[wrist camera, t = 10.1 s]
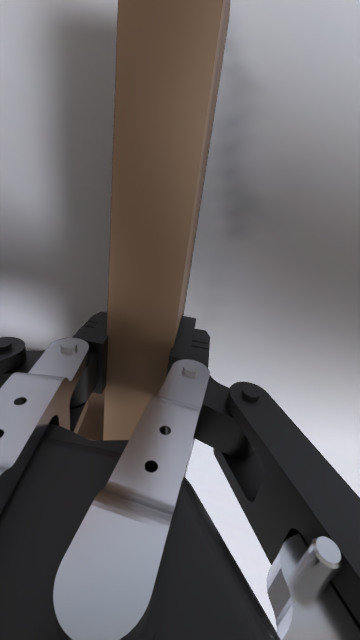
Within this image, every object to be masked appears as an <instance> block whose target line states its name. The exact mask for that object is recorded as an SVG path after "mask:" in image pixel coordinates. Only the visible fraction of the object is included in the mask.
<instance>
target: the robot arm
mask: <svg viewBox="0 0 360 640" xmlns="http://www.w3.org/2000/svg"><path fill="white" fill-rule="evenodd" d="M107 313H108V312H107ZM107 313H106V312H100V313H98V314H95V315H93V316H92V317H91V318H90V319H89V320H88V322H86V324H85V325H84V326H83V327H82V328H81V329H80V330H79V331H78V332H77V333H76V334H75V335H74V336H73V337H72V338H63V339H59V340H56V341H54V342H53V343H51V344H50V345H49V347H48V348H47V349H46V351H26V349H25V343H24V341H22V340H21V339H18V338H14V337H1V338H0V640H360V498H359V497H358V495H357V494H356V493H355V492H354V491H353V490H352V489H351V487H350V486H349V485H348V484H347V483H346V482H345V481H344V479H343V478H342V477H341V476H340V475H339V474H338V473H337V472H336V470H335V469H334V468H333V467H332V466H331V465H330V464H329V462H328V461H327V460H326V459H325V458H324V457H323V456H322V454H321V453H320V452H319V451H318V450H317V449H316V448H315V446H314V445H313V444H312V443H311V442H310V441H309V440H308V438H307V437H306V436H305V435H304V434H303V433H302V432H301V431H300V429H299V428H298V427H297V426H296V425H295V424H294V423H293V421H292V420H291V419H290V418H289V417H288V416H287V415H286V413H285V412H284V411H283V410H282V409H281V408H280V407H279V405H278V404H277V403H276V402H275V401H274V400H273V399H272V398H271V396H270V395H269V394H268V393H267V392H266V391H265V390H264V389H263V388H261V387H259V386H257V385H255V384H252V383H249V382H237V383H234V384H233V385H232V386H231V387H230V388H228V387H226V386H223V385H221V384H219V383H218V382H216V381H215V380H214V379H213V378H212V377H211V376H210V372H209V369H208V360H209V344H210V336H209V335H208V333H207V332H206V331H205V330H199V329H194V328H195V323H196V318H191V317H186V316H182V317H181V321H180V325H179V328H178V332H177V335H176V339H175V343H174V346H173V348H171V351H170V355H169V360H168V367H167V374H166V379H165V381H164V383H163V385H162V388H161V390H160V392H159V394H158V396H157V395H153V396H152V397H151V399H150V401H149V402H148V404H147V406H146V408H145V410H144V412H143V414H142V416H141V418H140V420H139V422H138V424H137V426H136V428H135V430H134V432H133V434H132V436H131V438H130V440H89V439H87V438H85V437H82V436H80V435H78V434H77V433H78V431H79V428H80V426H81V423H82V421H83V419H84V416H85V414H86V411H87V409H88V406H89V397H90V395H91V394H92V393H97V394H102V392H103V391H104V389H105V387H106V378H107V357H108V336H107ZM195 439H197V440H199V441H201V442H203V443H205V444H207V445H209V446H211V447H213V448H214V455H215V457H216V459H217V461H218V463H219V465H220V467H221V469H222V471H223V472H224V474H225V476H226V478H227V480H228V482H229V484H230V486H231V488H232V490H233V492H234V494H235V496H236V498H237V500H238V501H239V503H240V505H241V507H242V509H243V511H244V513H245V515H246V517H247V519H248V521H249V523H250V525H251V527H252V529H253V530H254V532H255V534H256V536H257V538H258V540H259V542H260V544H261V546H262V548H263V550H264V552H265V554H266V556H267V558H268V560H269V561H270V563H271V565H272V566H271V567H270V569H269V572H268V576H267V591H268V596H269V599H270V602H271V605H272V608H273V610H274V614H275V618H276V625H277V632H276V631H275V629H274V627H273V625H272V624H271V622H270V620H269V619H268V617H267V615H266V613H265V612H264V610H263V608H262V606H261V605H260V603H259V601H258V599H257V598H256V596H255V594H254V593H253V591H252V589H251V587H250V586H249V584H248V582H247V580H246V579H245V577H244V575H243V574H242V572H241V570H240V568H239V567H238V565H237V563H236V561H235V560H234V558H233V556H232V555H231V553H230V551H229V549H228V548H227V546H226V544H225V542H224V541H223V539H222V537H221V536H220V534H219V532H218V530H217V529H216V527H215V525H214V523H213V522H212V520H211V518H210V516H209V515H208V513H207V511H206V510H205V508H204V506H203V504H202V503H201V501H200V499H199V497H198V496H197V494H196V492H195V491H194V489H193V487H192V486H191V484H190V483H189V482H188V480H187V479H186V478H185V476H186V472H187V468H188V464H189V460H190V456H191V452H192V448H193V444H194V440H195Z"/></svg>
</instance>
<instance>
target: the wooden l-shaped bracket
mask: <svg viewBox="0 0 360 640" xmlns="http://www.w3.org/2000/svg"><path fill="white" fill-rule="evenodd" d="M229 11H230V0H118V20H117V49H116V78H115V108H114V137H113V166H112V196H111V225H110V254H109V283H108V313H107V336H108V357H107V378H106V387H105V389H104V391H103V392H102V394H97V393H92V394H91V395H90V397H89V406H88V409H87V411H86V414H85V416H84V419H83V421H82V423H81V426H80V428H79V431H78V433H77V434H78V435H80V436H82V437H85V438H87V439H89V440H130V438H131V436H132V434H133V432H134V430H135V428H136V426H137V424H138V422H139V420H140V418H141V416H142V414H143V412H144V410H145V408H146V406H147V404H148V402H149V401H150V399H151V397H152V396H153V395H157V396H158V394H159V392H160V390H161V388H162V385H163V383H164V381H165V379H166V374H167V367H168V360H169V355H170V351H171V348H173V346H174V343H175V339H176V335H177V332H178V328H179V325H180V321H181V317H182V316H183V315H184V308H185V302H186V295H187V289H188V282H189V276H190V269H191V263H192V256H193V250H194V243H195V237H196V230H197V224H198V217H199V211H200V204H201V198H202V191H203V185H204V178H205V172H206V165H207V159H208V152H209V146H210V139H211V133H212V126H213V120H214V113H215V107H216V100H217V94H218V87H219V81H220V74H221V68H222V61H223V55H224V48H225V42H226V35H227V29H228V22H229Z"/></svg>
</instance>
